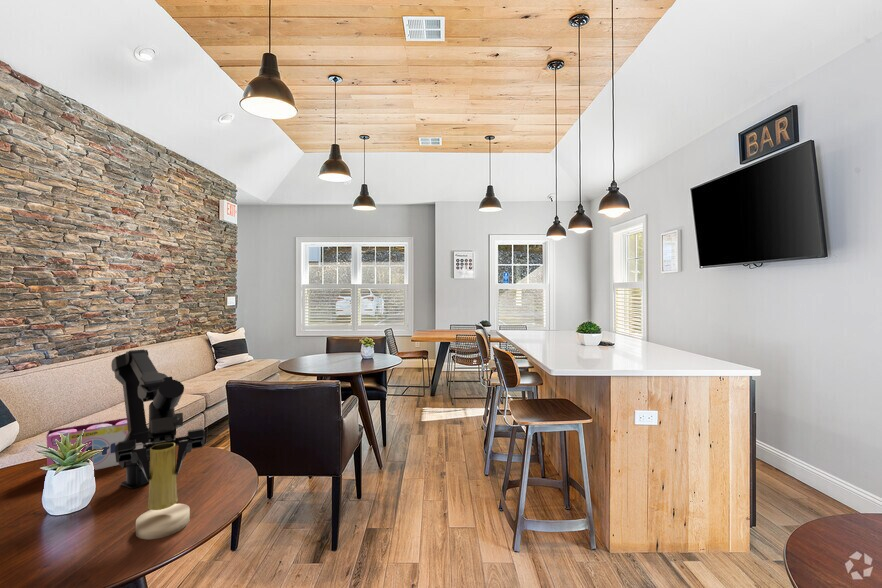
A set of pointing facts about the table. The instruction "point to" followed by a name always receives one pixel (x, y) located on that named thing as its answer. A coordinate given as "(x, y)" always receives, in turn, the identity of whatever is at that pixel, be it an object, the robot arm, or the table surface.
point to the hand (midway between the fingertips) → (163, 477)
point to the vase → (162, 476)
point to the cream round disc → (162, 522)
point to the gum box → (94, 440)
